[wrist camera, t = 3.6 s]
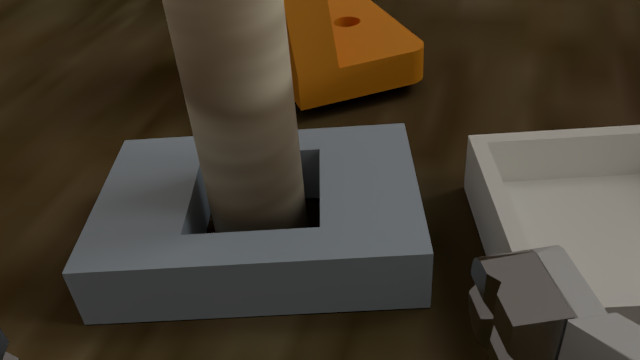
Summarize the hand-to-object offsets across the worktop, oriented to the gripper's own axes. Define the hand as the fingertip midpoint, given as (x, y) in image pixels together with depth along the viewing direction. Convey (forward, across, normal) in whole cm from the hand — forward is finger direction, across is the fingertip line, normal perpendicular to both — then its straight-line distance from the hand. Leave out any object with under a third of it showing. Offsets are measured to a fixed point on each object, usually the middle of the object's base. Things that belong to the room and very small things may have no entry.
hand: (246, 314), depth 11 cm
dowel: (+11, 0, +8) cm, 14 cm away
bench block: (+11, 0, +8) cm, 14 cm away
